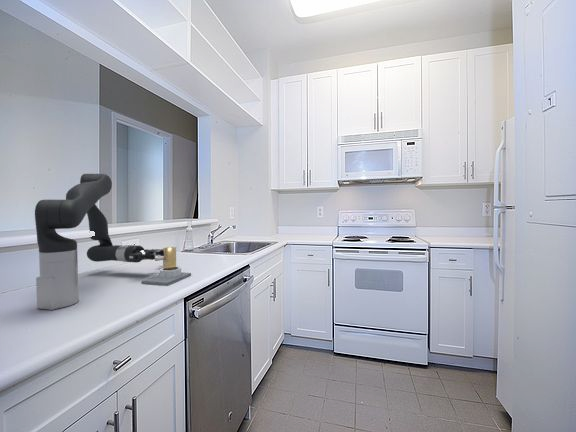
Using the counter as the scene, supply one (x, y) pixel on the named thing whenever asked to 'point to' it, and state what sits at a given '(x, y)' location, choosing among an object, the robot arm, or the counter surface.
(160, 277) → the plate
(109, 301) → the counter surface
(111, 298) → the counter surface
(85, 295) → the counter surface
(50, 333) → the counter surface
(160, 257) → the pipe connector
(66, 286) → the robot arm
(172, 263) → the cylinder
